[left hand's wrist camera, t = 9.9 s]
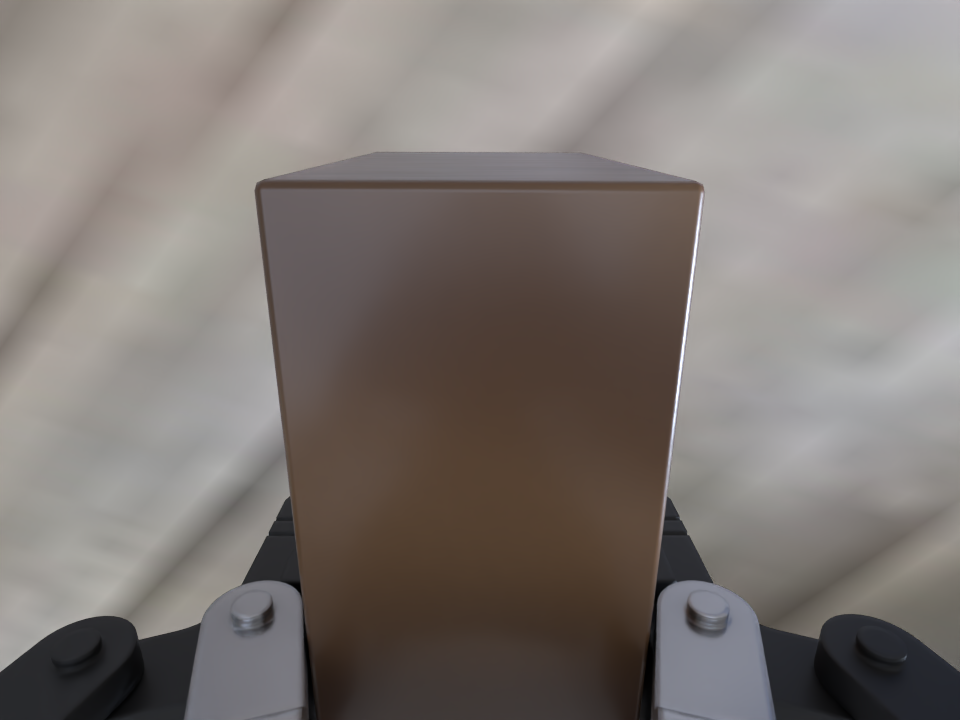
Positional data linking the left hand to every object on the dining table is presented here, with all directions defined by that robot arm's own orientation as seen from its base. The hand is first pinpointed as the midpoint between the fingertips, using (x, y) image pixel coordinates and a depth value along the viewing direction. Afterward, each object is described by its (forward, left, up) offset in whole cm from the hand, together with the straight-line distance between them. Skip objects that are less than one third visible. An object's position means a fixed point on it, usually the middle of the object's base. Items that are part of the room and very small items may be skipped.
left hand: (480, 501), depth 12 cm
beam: (+7, +21, -2) cm, 22 cm away
